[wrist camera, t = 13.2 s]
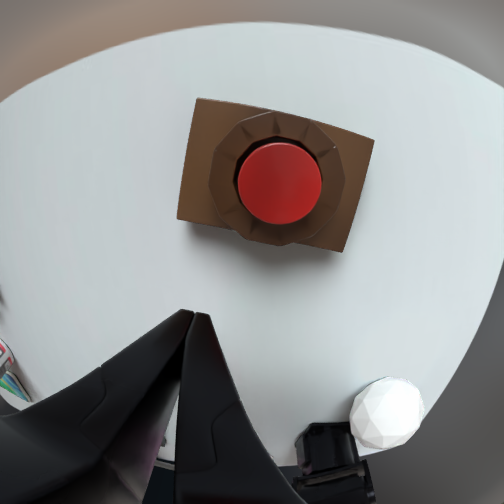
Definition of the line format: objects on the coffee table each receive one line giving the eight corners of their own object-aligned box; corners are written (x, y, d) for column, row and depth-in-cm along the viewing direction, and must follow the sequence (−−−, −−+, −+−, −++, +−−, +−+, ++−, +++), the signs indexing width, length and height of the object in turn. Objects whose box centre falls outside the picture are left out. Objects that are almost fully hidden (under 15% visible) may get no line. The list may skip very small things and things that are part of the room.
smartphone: (-25, 354, 27) (12, 376, 27) (-23, 351, 28) (14, 373, 27) (-10, 380, 29) (30, 403, 29) (-8, 378, 30) (32, 400, 30)
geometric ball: (354, 370, 26) (337, 404, 20) (423, 360, 22) (429, 394, 16) (357, 424, 25) (341, 465, 19) (421, 418, 22) (422, 460, 15)
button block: (361, 139, 15) (389, 140, 11) (333, 240, 18) (351, 266, 14) (204, 102, 14) (188, 91, 11) (185, 210, 17) (166, 229, 13)
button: (321, 152, 12) (330, 154, 11) (303, 221, 14) (310, 232, 12) (248, 135, 12) (247, 134, 10) (233, 206, 13) (230, 216, 12)
